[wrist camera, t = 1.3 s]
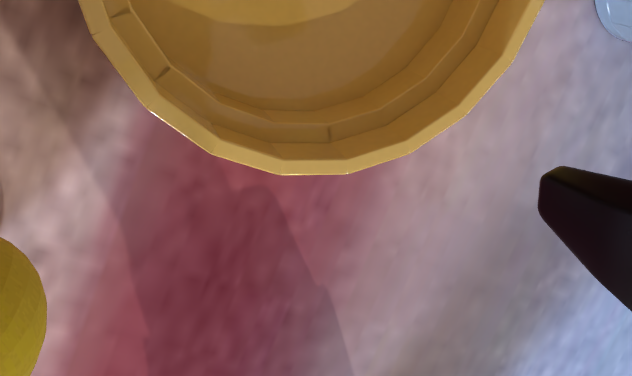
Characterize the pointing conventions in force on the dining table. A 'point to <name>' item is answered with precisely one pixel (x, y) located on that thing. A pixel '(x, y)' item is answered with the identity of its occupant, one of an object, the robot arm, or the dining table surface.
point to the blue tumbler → (616, 17)
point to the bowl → (310, 72)
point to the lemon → (20, 312)
